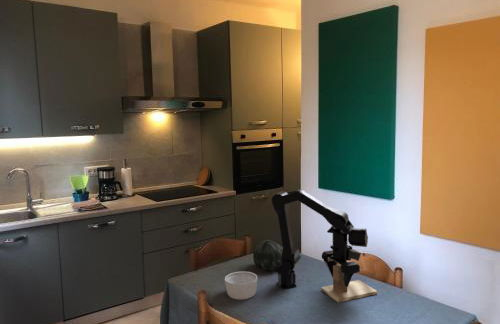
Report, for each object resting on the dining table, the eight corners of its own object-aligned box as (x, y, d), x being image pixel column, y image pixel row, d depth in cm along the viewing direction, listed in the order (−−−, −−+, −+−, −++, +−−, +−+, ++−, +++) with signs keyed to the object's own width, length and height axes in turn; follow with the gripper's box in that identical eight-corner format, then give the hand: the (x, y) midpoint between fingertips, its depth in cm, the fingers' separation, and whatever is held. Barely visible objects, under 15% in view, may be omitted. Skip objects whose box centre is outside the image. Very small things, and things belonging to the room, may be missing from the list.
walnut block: (338, 293, 157) (338, 268, 156) (333, 289, 161) (332, 265, 160) (347, 291, 159) (347, 267, 158) (341, 288, 162) (341, 263, 161)
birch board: (337, 302, 153) (337, 299, 153) (321, 290, 164) (321, 287, 164) (377, 294, 159) (377, 291, 159) (359, 282, 170) (359, 279, 170)
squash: (272, 248, 201) (257, 230, 193) (295, 256, 190) (280, 238, 182) (256, 272, 195) (241, 255, 187) (279, 281, 184) (264, 264, 176)
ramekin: (219, 299, 159) (219, 282, 158) (232, 285, 171) (232, 269, 170) (251, 303, 154) (250, 286, 154) (262, 289, 167) (261, 273, 166)
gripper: (372, 248, 152) (371, 287, 153) (344, 235, 169) (344, 270, 171) (346, 252, 148) (346, 293, 150) (321, 238, 165) (321, 275, 167)
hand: (340, 282), depth 159 cm, fingers open, 9 cm apart
